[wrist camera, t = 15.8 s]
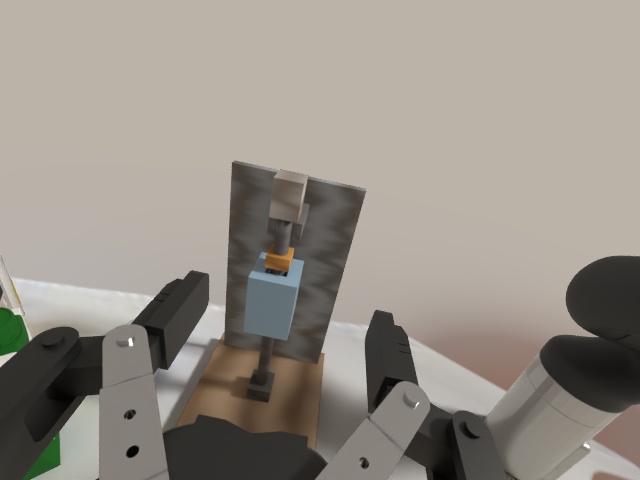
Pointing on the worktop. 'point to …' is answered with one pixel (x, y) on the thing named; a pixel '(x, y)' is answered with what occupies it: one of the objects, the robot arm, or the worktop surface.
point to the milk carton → (4, 342)
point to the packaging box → (8, 289)
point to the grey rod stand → (310, 310)
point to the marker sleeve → (271, 299)
